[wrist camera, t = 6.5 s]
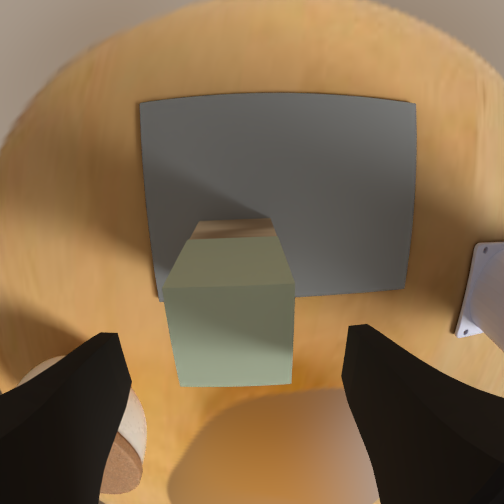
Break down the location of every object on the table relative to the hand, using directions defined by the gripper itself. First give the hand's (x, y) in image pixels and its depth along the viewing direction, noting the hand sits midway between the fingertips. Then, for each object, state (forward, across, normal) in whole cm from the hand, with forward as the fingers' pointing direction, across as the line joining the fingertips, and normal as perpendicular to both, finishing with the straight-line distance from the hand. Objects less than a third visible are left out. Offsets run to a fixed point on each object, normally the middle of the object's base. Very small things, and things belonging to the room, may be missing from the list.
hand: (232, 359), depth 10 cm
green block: (+6, 0, 0) cm, 6 cm away
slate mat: (+10, -3, -3) cm, 11 cm away
